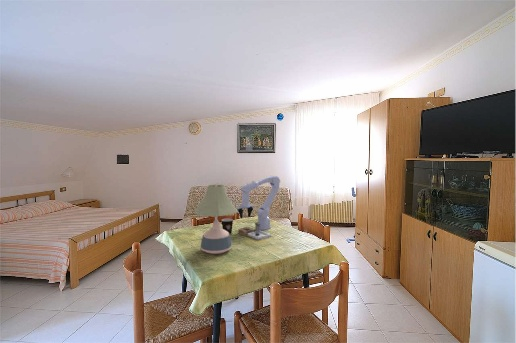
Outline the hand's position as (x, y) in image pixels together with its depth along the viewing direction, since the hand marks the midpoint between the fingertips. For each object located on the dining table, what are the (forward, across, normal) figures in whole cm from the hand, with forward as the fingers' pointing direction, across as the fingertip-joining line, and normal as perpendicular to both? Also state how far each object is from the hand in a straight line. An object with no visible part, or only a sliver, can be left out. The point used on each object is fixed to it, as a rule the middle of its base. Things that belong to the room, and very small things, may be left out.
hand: (245, 217), depth 194 cm
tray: (+10, 0, +18) cm, 21 cm away
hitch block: (+10, +4, +7) cm, 13 cm away
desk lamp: (+11, +38, +23) cm, 46 cm away
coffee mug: (+11, +16, -4) cm, 19 cm away
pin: (+10, +1, +17) cm, 20 cm away
